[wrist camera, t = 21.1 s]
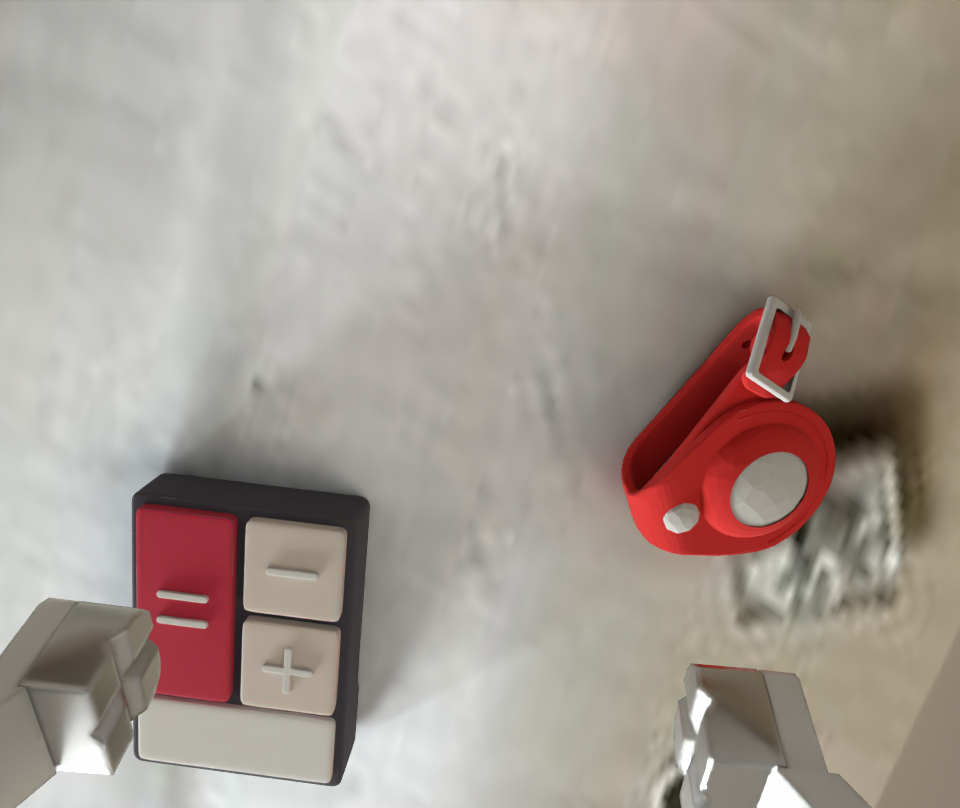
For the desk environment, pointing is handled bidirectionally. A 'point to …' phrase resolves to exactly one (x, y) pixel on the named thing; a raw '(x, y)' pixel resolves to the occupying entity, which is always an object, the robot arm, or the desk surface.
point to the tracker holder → (734, 447)
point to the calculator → (250, 625)
